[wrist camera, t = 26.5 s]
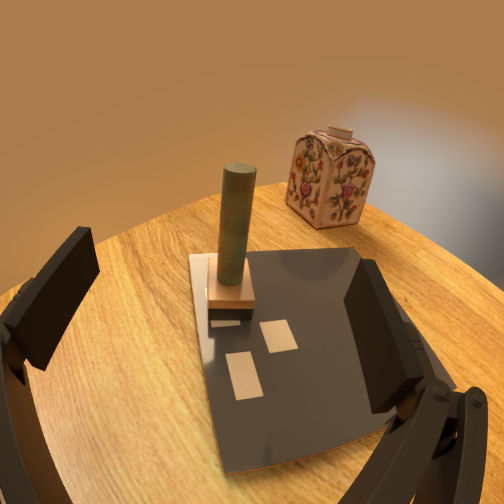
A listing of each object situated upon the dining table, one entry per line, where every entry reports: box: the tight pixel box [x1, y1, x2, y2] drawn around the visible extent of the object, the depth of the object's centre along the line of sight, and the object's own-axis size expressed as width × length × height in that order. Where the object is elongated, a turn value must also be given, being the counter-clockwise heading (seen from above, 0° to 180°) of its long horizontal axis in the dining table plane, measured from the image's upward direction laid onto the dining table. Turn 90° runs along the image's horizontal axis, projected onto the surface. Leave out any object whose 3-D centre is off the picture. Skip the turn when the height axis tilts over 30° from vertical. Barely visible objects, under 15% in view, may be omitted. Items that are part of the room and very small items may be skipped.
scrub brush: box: [207, 163, 257, 321], centre depth 28 cm, size 7×5×15 cm, turn 7°
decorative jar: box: [285, 125, 375, 229], centre depth 52 cm, size 12×12×18 cm
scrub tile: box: [188, 247, 457, 476], centre depth 31 cm, size 28×26×1 cm
